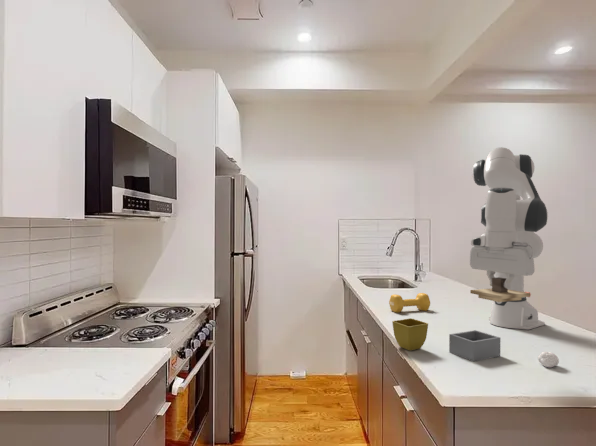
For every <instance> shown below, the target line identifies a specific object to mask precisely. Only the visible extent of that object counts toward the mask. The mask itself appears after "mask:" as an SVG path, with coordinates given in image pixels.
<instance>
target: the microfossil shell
mask: <svg viewBox="0 0 596 446" xmlns="http://www.w3.org/2000/svg"><path fill="white" fill-rule="evenodd" d="M537 360H538V362H539V363H540V364H541V365H542V366H544V367H545V368H553V367H555V366H558V364H559V362H560V360H559V358H558V356H557V355H556V354H555V353H554V352H549V351H542V352H541V353H540V354H539V355H538V357H537Z"/></svg>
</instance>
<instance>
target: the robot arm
mask: <svg viewBox="0 0 596 446" xmlns="http://www.w3.org/2000/svg"><path fill="white" fill-rule="evenodd" d="M534 173H535V163H534V160H533V159H532V157H531V156H530V155H529V154H519V155H517V154H516V155H514V153H513V151H512V150H510V148H506V147H503V146H502V147H496V148H493V149H492V150H490V151H489V153H488V155H487V157H486V159H479V160H478V161H475V162H474V164H473V166H472V169H471V176H472V179H473V181H474V183H475V184H476V185H477V186H481V187H486V186H487V187H488V188H490V189H488V191H487V192H486V197H485V203H484V204H483V205H482V206H480V210H481V215H480V216H481V217H480V223H481V224H482V225H483V226H484V227H485V229H484V233H482V234H481V235H480V236H477V237H475V238H472V239H471V240H470V245H471V247H470V253H469V265H470V268H471V269H473V270H479V271H486V275H487V278H488V279H489V286H490V287H492V278H498V277H500V278H507V279H506V281H505V282H502V285H503V286H502V287H503V288H506V289H509V290H515V291H521V292H526V293H530V297H531V295H532V293H531V292H529V291H524V290H525V289H524V285H525V284H524V282H525V280H524V278H525V276H532V275H533V274H534V273H535V269H536V268H535V259H537V258H538V257H539V256H540V255H541V254H542V252H543V250H544V243H543V240H542V238H541V236H539V235H538V234H537V232H539V231H540V230H542V229H543V228H544V227H546V225H547V223H548V217H549V215H548V214H549V212H548V208H547V207H546V204H545V203H544V201H543V200H542V199H541V197H540V195H539V192H538V190H537V188H536V186H535V184H534V182H533V180H532V177H533V176H534ZM521 198H522V199H521ZM490 310H491V311H490V317H488V321H489V323H490V325H493V326H497V327H501V328H507V329H508V328H509V329H520V330H531V329H535V328H538V327H542V326H544V325H545V324H546V323H545V321H543V320H540V319H539V312H538V309H537V308H535V306H534V305H532V304H530V302H529V301H527V297H521V300H516V301H505V302H496V301H492V303H491V309H490Z"/></svg>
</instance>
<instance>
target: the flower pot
mask: <svg viewBox="0 0 596 446" xmlns="http://www.w3.org/2000/svg"><path fill="white" fill-rule="evenodd" d="M428 328H429V323H428V322H425V321H422V320H418V319H415V318H405V319H404V318H403V319H399V320H398V319H397V320H392V329H393V336H394V339H395V342H396V344H398V346H399V348H402V349H404V350H407V351H409V352H410V351H414V350H420V349H422V347H423V346H424V344H425V342H426V340H427V336H428Z"/></svg>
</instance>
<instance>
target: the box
mask: <svg viewBox="0 0 596 446" xmlns="http://www.w3.org/2000/svg"><path fill="white" fill-rule="evenodd" d="M448 341H449V345H448V346H449V349H448V352H449V353H451V354H452V355H456V356H459V357H461V358H464V359H467V360H469V361H471V362H478V361H482V360H486V359H492V358H498V357H501V337H499V336H496V335H492V334H490V333H487V332H484V331H483V332H482V331H480V330H476V329H475V330H468V331H461V332H455V333H449V340H448Z"/></svg>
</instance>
